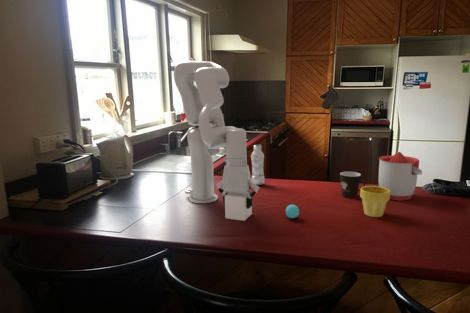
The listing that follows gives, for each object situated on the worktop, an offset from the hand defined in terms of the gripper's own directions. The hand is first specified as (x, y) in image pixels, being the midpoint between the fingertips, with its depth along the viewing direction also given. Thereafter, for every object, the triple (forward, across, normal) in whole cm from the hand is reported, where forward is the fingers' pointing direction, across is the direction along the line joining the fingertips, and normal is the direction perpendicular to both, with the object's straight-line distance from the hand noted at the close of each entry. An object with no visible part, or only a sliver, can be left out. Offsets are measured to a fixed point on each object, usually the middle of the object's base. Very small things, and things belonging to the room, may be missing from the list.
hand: (237, 206), depth 136 cm
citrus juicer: (+4, +57, +44) cm, 72 cm away
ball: (+1, +20, +5) cm, 21 cm away
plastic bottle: (+4, -7, +44) cm, 45 cm away
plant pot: (+4, +48, +19) cm, 52 cm away
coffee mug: (+4, +38, +38) cm, 54 cm away
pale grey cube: (+4, 0, 0) cm, 4 cm away
